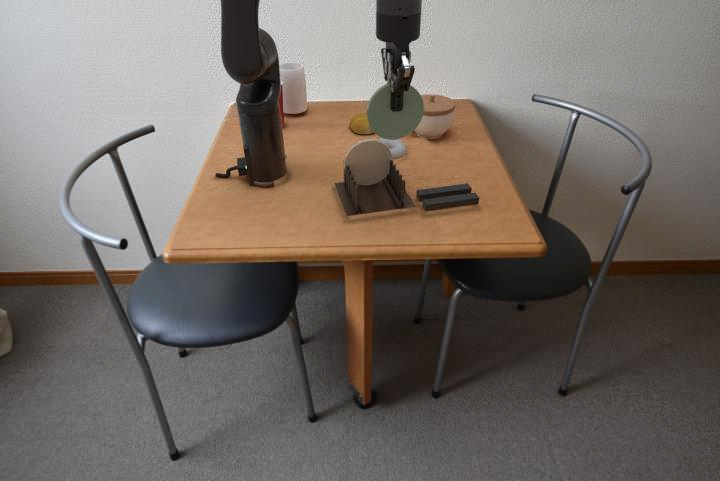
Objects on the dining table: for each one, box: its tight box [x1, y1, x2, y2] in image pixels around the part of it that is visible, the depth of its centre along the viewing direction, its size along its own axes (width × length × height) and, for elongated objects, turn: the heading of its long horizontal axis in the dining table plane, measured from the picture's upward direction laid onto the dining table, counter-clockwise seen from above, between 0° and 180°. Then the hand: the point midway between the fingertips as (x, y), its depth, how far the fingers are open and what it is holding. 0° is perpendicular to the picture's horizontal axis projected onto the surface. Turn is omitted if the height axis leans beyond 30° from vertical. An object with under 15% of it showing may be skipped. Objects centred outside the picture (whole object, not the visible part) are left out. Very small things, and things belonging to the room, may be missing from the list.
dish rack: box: [334, 159, 416, 217], centre depth 104 cm, size 15×14×8 cm
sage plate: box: [365, 83, 424, 140], centre depth 89 cm, size 11×1×11 cm, turn 103°
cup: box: [279, 61, 308, 115], centre depth 143 cm, size 8×8×14 cm
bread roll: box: [348, 112, 375, 135], centre depth 135 cm, size 8×9×4 cm
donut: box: [376, 137, 408, 160], centre depth 122 cm, size 10×4×10 cm
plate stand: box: [415, 183, 480, 212], centre depth 103 cm, size 12×6×3 cm, turn 103°
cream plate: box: [343, 138, 394, 186], centre depth 105 cm, size 11×1×11 cm, turn 103°
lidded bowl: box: [413, 93, 456, 140], centre depth 130 cm, size 13×13×11 cm
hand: (395, 109), depth 89 cm, fingers closed on sage plate, 1 cm apart
